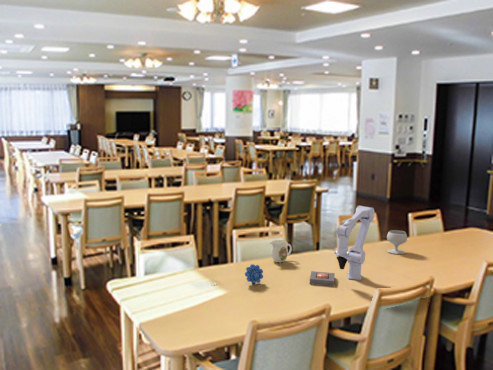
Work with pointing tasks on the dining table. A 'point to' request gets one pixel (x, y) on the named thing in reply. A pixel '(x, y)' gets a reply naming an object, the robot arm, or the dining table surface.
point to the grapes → (254, 274)
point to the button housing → (322, 279)
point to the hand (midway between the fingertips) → (341, 268)
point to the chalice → (396, 240)
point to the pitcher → (280, 250)
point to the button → (322, 275)
